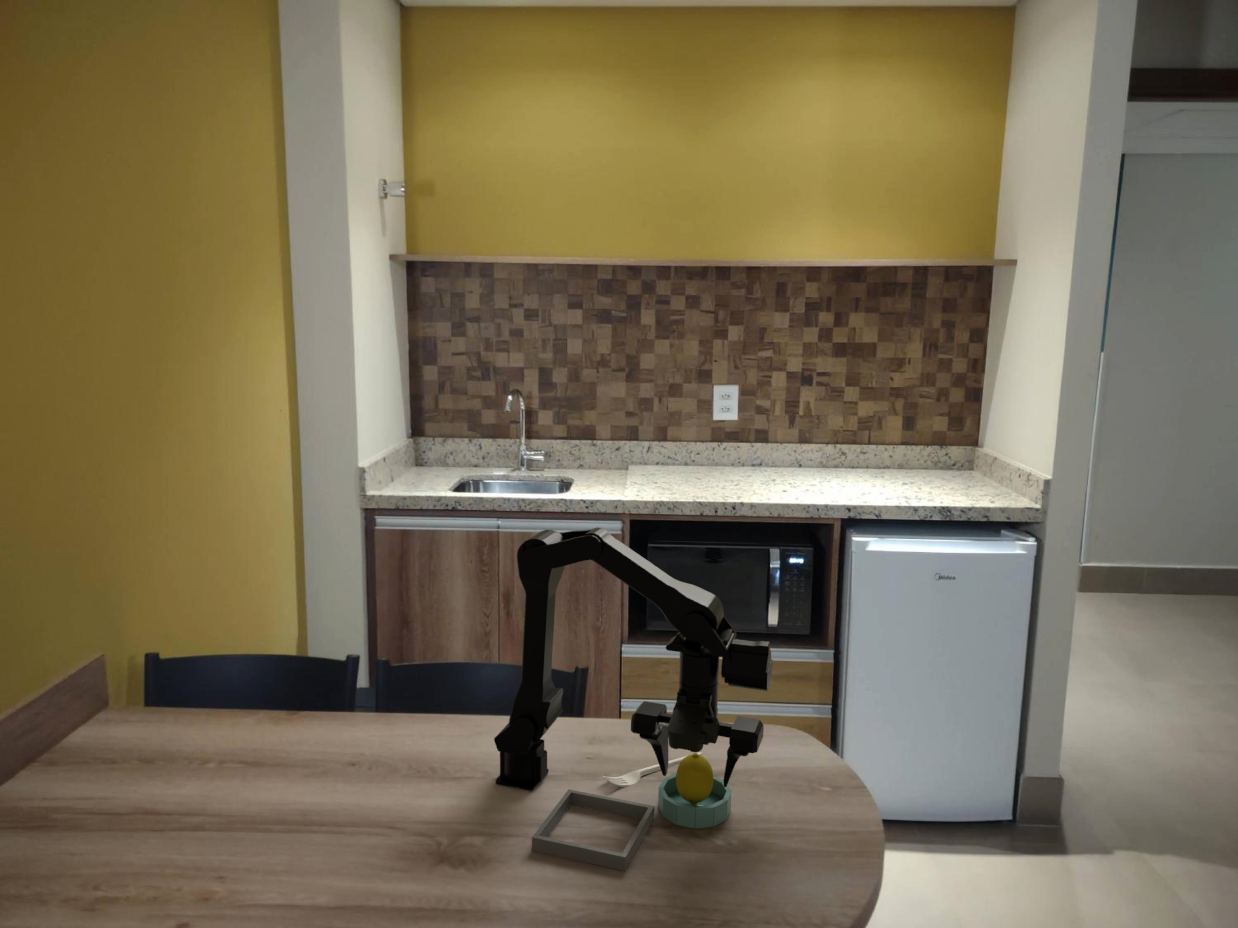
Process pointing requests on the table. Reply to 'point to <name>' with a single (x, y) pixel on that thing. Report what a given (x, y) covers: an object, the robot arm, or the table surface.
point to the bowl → (694, 815)
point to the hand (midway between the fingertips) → (695, 779)
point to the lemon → (694, 778)
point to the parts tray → (586, 852)
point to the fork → (639, 773)
